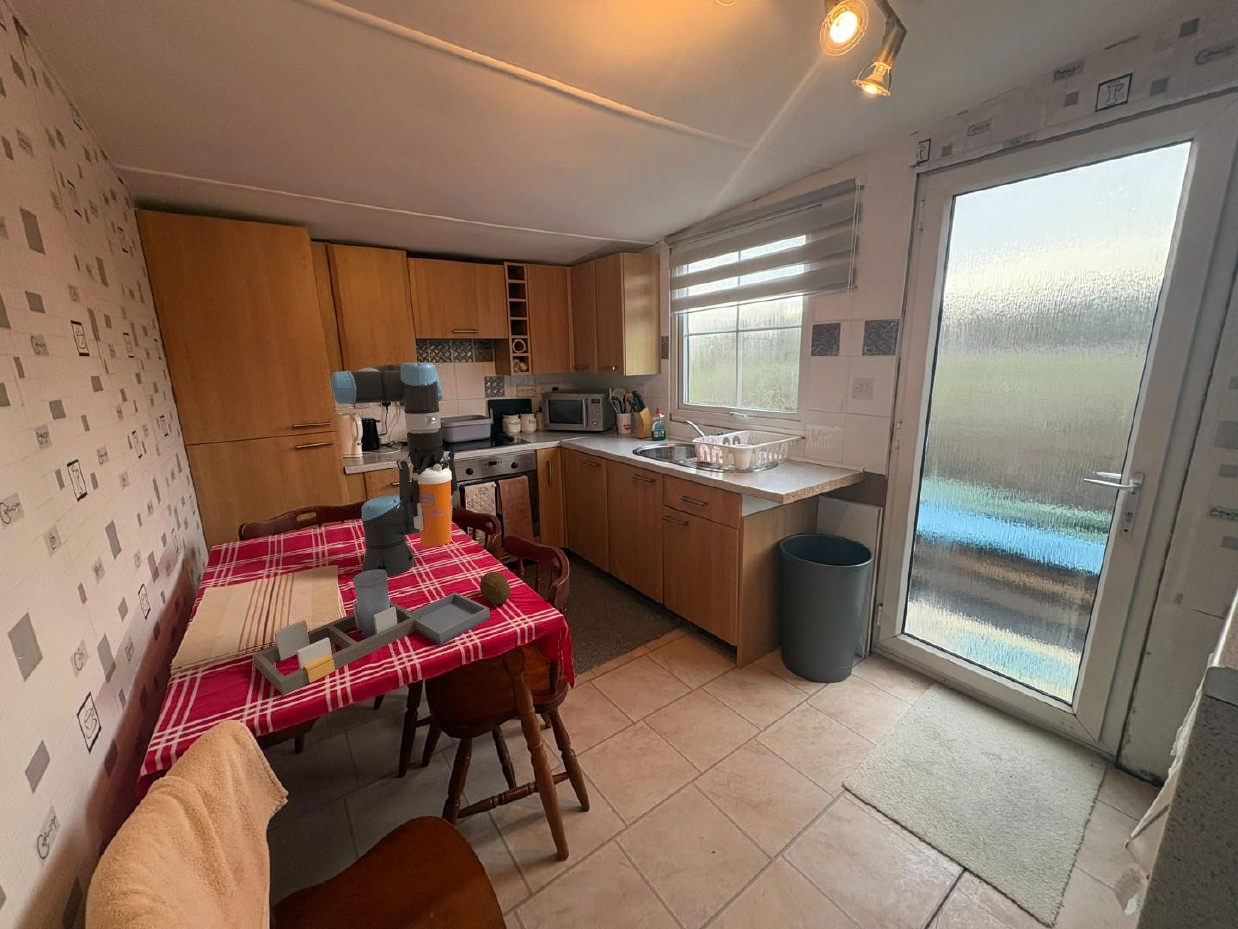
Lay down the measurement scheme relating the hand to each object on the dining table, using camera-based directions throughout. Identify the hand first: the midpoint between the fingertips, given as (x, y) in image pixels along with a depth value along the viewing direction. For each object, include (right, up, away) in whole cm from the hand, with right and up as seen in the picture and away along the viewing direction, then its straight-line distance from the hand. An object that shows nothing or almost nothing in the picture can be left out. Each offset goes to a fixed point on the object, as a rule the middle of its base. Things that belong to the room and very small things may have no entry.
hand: (432, 524), depth 116 cm
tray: (+1, -26, +7) cm, 27 cm away
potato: (+10, -24, +19) cm, 32 cm away
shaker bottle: (0, -5, +1) cm, 5 cm away
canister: (-15, -27, +3) cm, 31 cm away
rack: (-20, -28, -3) cm, 35 cm away
